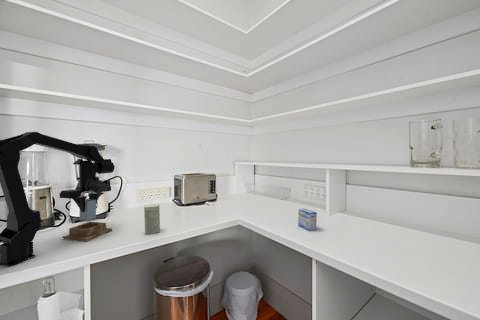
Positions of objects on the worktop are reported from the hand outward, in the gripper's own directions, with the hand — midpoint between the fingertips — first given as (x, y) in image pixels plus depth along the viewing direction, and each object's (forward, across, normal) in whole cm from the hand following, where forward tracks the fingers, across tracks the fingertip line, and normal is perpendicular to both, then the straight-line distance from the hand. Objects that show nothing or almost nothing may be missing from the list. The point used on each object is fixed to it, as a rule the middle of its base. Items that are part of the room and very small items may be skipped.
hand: (87, 210), depth 85 cm
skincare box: (+11, +9, -25) cm, 29 cm away
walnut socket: (+11, 0, 0) cm, 11 cm away
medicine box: (+11, +30, -95) cm, 100 cm away
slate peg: (+4, 0, 0) cm, 4 cm away
